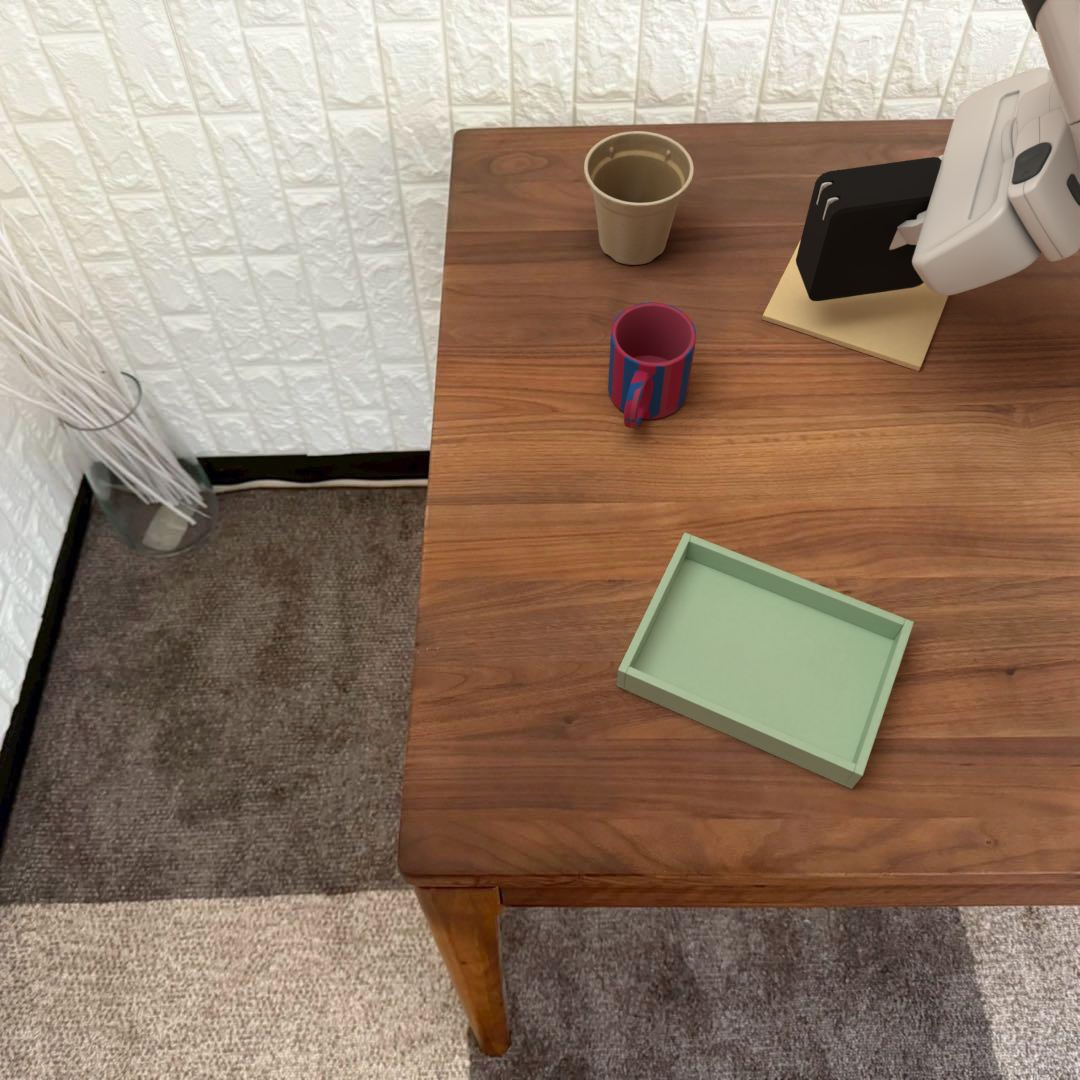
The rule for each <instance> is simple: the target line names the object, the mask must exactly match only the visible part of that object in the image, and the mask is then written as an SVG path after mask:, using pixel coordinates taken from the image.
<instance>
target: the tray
mask: <svg viewBox="0 0 1080 1080" xmlns="http://www.w3.org/2000/svg"><path fill="white" fill-rule="evenodd" d="M669 561H670V562H669V563H668V565H667V567H666V569H665V571H664V574H663V576H662V577H661V580H660V582H659V584H658V586H657V588H656V590H655V592H654V594H653V596H652V598H651V601H650V602H649V604H648V606H647V609H646V611H645V613H644V615H643V617H642V618H641V621H640V623H639V625H638V627H637V629H636V632H635V634H634V636H633V637H632V640H631V642H630V644H629V646H628V648H627V650H626V652H625V654H624V656H623V658H622V660H621V663H620V665H619V667H618V669H617V675H616V676H617V677H616V683H615V685H616V687H618V688H620V689H623V690H625V691H627V692H629V693H631V694H633V695H636V696H638V697H640V698H642V699H645V700H647V701H650V702H652V703H654V704H657V705H659V706H661V707H663V708H665V709H667V710H670V711H673V712H674V713H677V714H679V715H680V716H681V715H682V716H683V717H686V718H688V719H690V720H694V721H695V722H698V723H700V724H702V725H704V726H706V727H709V728H711V729H714V730H715V731H718V732H720V733H723V734H725V735H727V736H729V737H732V738H734V739H736V740H739V741H741V742H743V743H745V744H748V745H750V746H752V747H754V748H757V749H759V750H762V751H763V752H766V753H768V754H770V755H773V756H776V757H777V758H780V759H782V760H784V761H785V762H786V761H787V762H789V763H791V764H793V765H796V766H797V767H800V768H803V769H805V770H807V771H809V772H811V773H814V774H816V775H818V776H821V777H823V778H825V779H828V780H829V781H832V782H835V783H837V784H839V785H841V786H843V787H846V788H849V789H851V790H853V789H854V787H855V786H856V785H857V783H858V782H859V781H860V780H861V779H862V778H863V776H864V773H865V770H866V768H867V765H868V762H869V759H870V755H871V753H872V749H873V747H874V744H875V741H876V738H877V735H878V731H879V729H880V726H881V723H882V720H883V717H884V713H885V711H886V708H887V705H888V702H889V699H890V695H891V693H892V690H893V686H894V684H895V680H896V678H897V675H898V672H899V669H900V665H901V663H902V660H903V658H904V654H905V651H906V649H907V645H908V642H909V638H910V636H911V633H912V629H913V627H914V624H915V622H914V621H913V620H911V619H908V618H905V617H904V616H903V617H902V616H900V615H898V614H895V613H892V612H890V611H888V610H885V609H882V608H880V607H877V606H874V605H872V604H869V603H866V602H864V601H862V600H860V599H857V598H854V597H853V596H852V597H851V596H849V595H846V594H843V593H842V592H838V591H837V590H834V589H831V588H829V587H826V586H823V585H820V584H818V583H816V582H814V581H811V580H808V579H805V578H802V577H800V576H798V575H796V574H792V573H790V572H787V571H785V570H783V569H779V568H777V567H774V566H772V565H770V564H767V563H765V562H762V561H759V560H757V559H754V558H751V557H749V556H747V555H744V554H742V553H739V552H736V551H734V550H731V549H728V548H727V547H726V548H725V547H723V546H721V545H718V544H716V543H713V542H710V541H709V540H706V539H703V538H700V537H698V536H695V535H692V534H690V533H688V532H683V534H682V536H681V537H680V541H679V542H678V545H677V546H676V549H675V551H674V552H673V555H672V557H671V559H670V560H669Z"/></svg>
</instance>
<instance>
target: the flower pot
mask: <svg viewBox="0 0 1080 1080" xmlns="http://www.w3.org/2000/svg"><path fill="white" fill-rule="evenodd" d="M583 163H584V164H583V173H584V178H585V180H586V182H587V184H588V186H589V189H590V191H591V194H592V195H593V202H594V209H595V216H596V223H597V231H598V233H597V234H598V243H599V246H600V248H601V251H602V252H603V253H604V254H605V255H608V256H609V257H610V258H611V259H612V260H613V261H615V262H616V263H619V264H622V265H628V266H639V265H644V264H648V263H651V262H652V261H653V260H654V259H656V258H657V257H658V256H659V255H662V254H663V253H664V251H665V250H666V249H665V248H666V246H667V242H668V239H669V235H670V232H671V229H672V225H673V223H674V219H675V216H676V212H677V209H678V205H679V202H680V200H681V199H682V197H683V196H684V194H685V192H686V190H687V189H689V186H690V185H691V183H692V181H693V178H694V171H695V168H694V162H693V159H692V157H691V155H690V154H689V152H688V151H687V150H686V148H685V147H684V146H683V145H682V144H680V142H677V140H675V139H673V138H671V137H669V136H666V135H663V134H661V133H656V132H650V131H645V130H644V131H642V130H631V131H624V132H623V131H622V132H618V133H615V134H611V135H608V136H607V137H604V138H603V139H601V140H600V141H598V142H597V143H596V144H594V145H593V146H592V147H591V148H590V149H589V151H588V152H587V154H586V156H585V159H584V162H583Z"/></svg>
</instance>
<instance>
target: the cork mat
mask: <svg viewBox="0 0 1080 1080" xmlns="http://www.w3.org/2000/svg"><path fill="white" fill-rule="evenodd" d="M800 241H801V239H800V240H799V241H798V244H797V246H796V248H795V250H794V252H793V254H792V256H791V257H790V260H789V262H788V264H787V265H786V268H785V270H784V272H783V273H782V276H781V278H780V280H779V282H778V283H777V286H776V288H775V290H774V292H773V294H772V295H771V298H770V300H769V301H768V304H767V306H766V307H765V310H764V311H763V314H762V317H761V320H763V321H765V322H768V323H770V324H771V323H772V324H774V325H776V326H781V327H783V328H787V329H789V330H792V331H796V332H798V333H802V334H804V335H808V336H811V337H813V338H817V339H820V340H823V341H825V342H829V343H831V344H835V345H838V346H840V347H844V348H846V349H850V350H853V351H857V352H859V353H862V354H864V355H868V356H871V357H873V358H877V359H880V360H883V361H886V362H889V363H892V364H895V365H899V366H902V367H905V368H906V369H907V368H908V369H910V370H914V371H917V372H919V371H920V370H921V368H922V366H923V364H924V360H925V358H926V355H927V353H928V349H929V347H930V344H931V342H932V340H933V337H934V334H935V333H936V329H937V326H938V324H939V321H940V319H941V316H942V313H943V310H944V308H945V306H946V302H947V301H948V299H949V296H943V295H939V294H935V293H933V292H931V291H930V290H929V288H928V287H927V286H926V284H925V283H923V284H921V285H920V286H917V287H914V288H908V289H901V290H894V291H887V292H880V293H873V294H866V295H859V296H852V297H845V298H838V299H831V300H824V301H812V300H811V299H809V296H808V293H807V291H806V288H805V286H804V283H803V280H802V278H801V275H800V272H799V270H798V267H797V264H796V257H797V253H798V249H799V245H800Z"/></svg>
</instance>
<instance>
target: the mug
mask: <svg viewBox="0 0 1080 1080" xmlns="http://www.w3.org/2000/svg"><path fill="white" fill-rule="evenodd" d="M696 342H697V330H696V327H695V325H694V322H693V321H692V319H691V318H690V317H689V315H687V313H685V312H684V311H682V310H681V309H679V308H678V307H675V306H673V305H671V304H667V303H664V302H657V301H656V302H652V301H650V302H641V303H636V304H634V305H632V306H631V305H630V306H629V307H628V308H626V309H624V310H623V311H621V312H620V313H619V314H618V315H617V317H615V319H614V321H613V323H612V324H611V329H610V341H609V343H610V344H609V361H608V364H609V365H608V377H607V378H608V380H607V392H608V396H609V398H610V400H611V402H612V403H613V404H614V406H615V407H616V408H617V409H618V410H620V411H621V412H623V424H624V427H626V428H628V429H637V428H638V427H640V424H641V422H642V420H658V419H663V418H666V417H668V416H671V415H672V414H674V413H675V412H677V411H678V410H679V409H680V408H681V407H682V406H683V405H684V403H685V401H686V399H687V397H688V391H689V385H690V379H691V374H692V368H693V367H692V366H693V362H694V361H693V360H694V354H695V348H696Z"/></svg>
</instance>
